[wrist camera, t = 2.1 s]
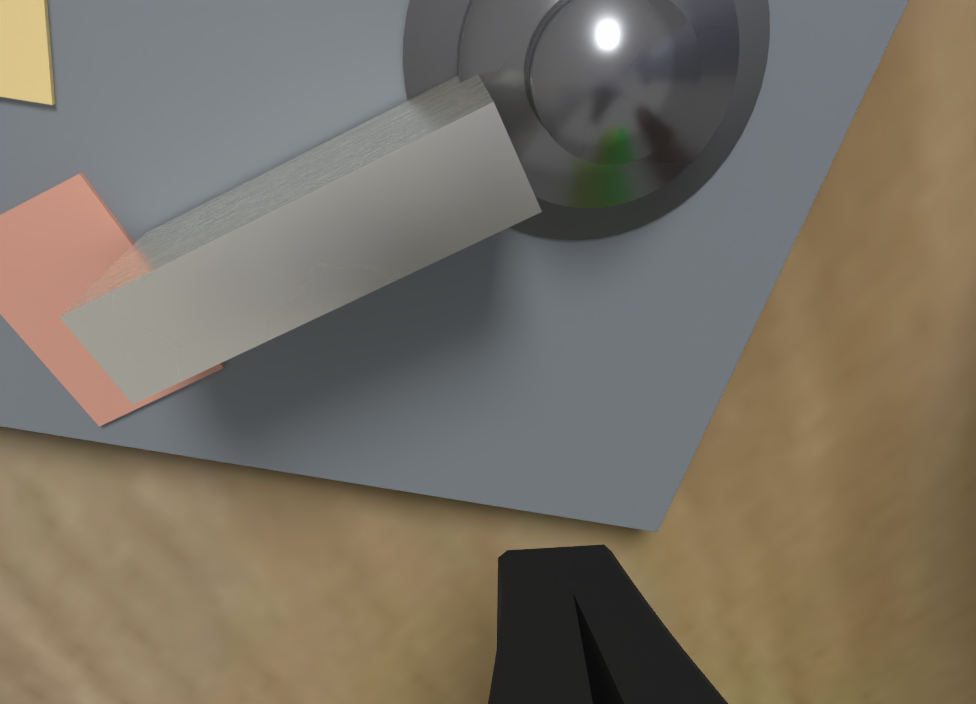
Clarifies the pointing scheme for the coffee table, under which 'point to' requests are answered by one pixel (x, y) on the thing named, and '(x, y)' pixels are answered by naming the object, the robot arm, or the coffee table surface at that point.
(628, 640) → the robot arm
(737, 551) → the coffee table surface
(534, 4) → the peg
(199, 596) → the coffee table surface
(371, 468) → the tuner board
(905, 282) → the coffee table surface
